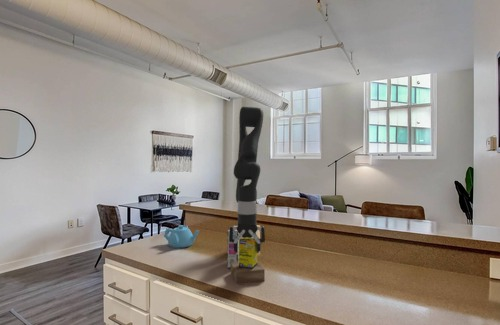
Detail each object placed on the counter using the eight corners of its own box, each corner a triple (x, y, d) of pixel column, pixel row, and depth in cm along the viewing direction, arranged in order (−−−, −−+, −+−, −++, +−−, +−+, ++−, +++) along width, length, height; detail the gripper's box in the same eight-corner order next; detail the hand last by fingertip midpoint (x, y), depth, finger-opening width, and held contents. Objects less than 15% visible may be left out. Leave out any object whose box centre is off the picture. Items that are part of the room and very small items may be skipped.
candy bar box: (238, 269, 125) (238, 231, 125) (226, 268, 126) (226, 230, 126) (243, 260, 136) (243, 225, 136) (233, 259, 137) (233, 225, 137)
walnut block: (230, 274, 121) (230, 262, 121) (256, 272, 124) (256, 260, 124) (236, 285, 110) (236, 272, 110) (264, 282, 113) (264, 269, 113)
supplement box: (238, 267, 115) (238, 239, 115) (244, 262, 121) (244, 236, 121) (252, 269, 113) (252, 241, 113) (257, 264, 119) (257, 237, 119)
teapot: (188, 239, 173) (188, 221, 173) (200, 245, 161) (200, 225, 161) (163, 244, 163) (162, 224, 163) (173, 250, 151) (173, 230, 151)
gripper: (264, 210, 120) (264, 249, 120) (230, 210, 121) (230, 249, 121) (265, 213, 113) (265, 255, 113) (228, 213, 113) (228, 255, 114)
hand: (247, 252), depth 117 cm, fingers open, 8 cm apart
